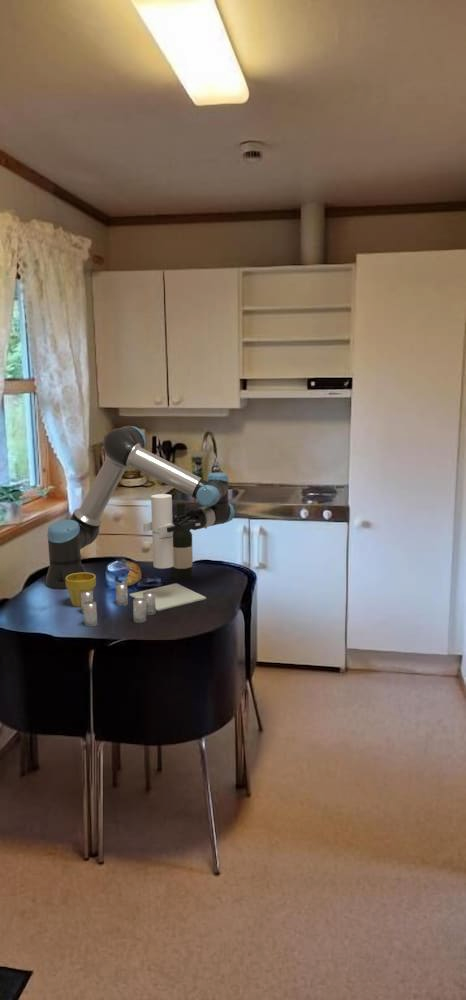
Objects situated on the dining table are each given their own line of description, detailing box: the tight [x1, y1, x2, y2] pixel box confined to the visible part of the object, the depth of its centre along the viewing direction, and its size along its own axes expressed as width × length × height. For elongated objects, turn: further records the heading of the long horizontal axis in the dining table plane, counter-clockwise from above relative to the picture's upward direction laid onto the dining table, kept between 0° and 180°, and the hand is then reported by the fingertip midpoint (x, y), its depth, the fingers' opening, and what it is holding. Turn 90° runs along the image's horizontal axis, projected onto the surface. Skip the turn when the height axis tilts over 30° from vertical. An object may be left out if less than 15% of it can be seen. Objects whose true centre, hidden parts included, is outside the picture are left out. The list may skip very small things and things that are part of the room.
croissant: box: [125, 561, 142, 587], centre depth 262 cm, size 21×10×8 cm, turn 10°
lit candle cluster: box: [80, 582, 157, 627], centre depth 223 cm, size 22×24×7 cm
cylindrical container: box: [150, 493, 174, 569], centre depth 235 cm, size 7×7×25 cm
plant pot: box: [66, 571, 97, 607], centre depth 235 cm, size 10×10×10 cm
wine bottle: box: [171, 500, 194, 580], centre depth 263 cm, size 8×8×30 cm
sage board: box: [128, 583, 207, 612], centre depth 241 cm, size 20×20×1 cm
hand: (151, 529), depth 232 cm, fingers closed on cylindrical container, 7 cm apart
